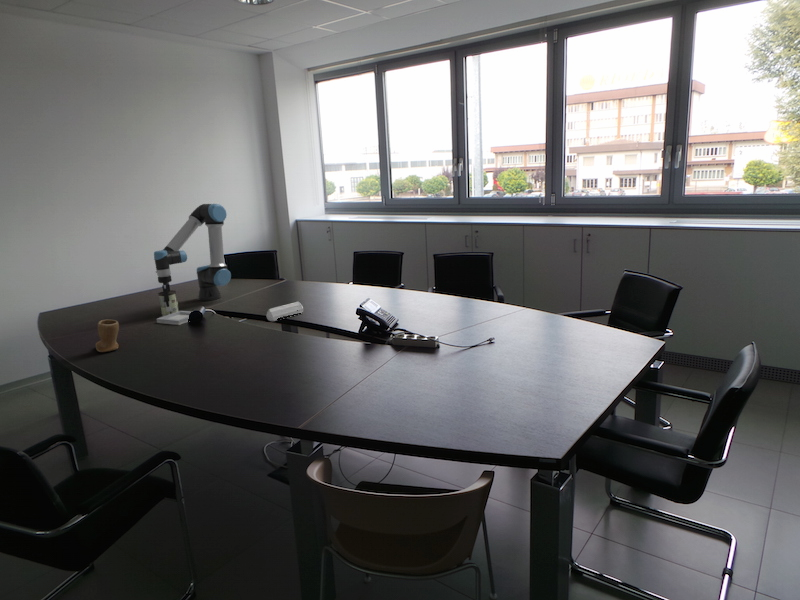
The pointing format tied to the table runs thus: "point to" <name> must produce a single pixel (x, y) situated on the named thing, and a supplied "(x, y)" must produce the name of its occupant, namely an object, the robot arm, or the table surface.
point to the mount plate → (175, 318)
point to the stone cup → (107, 335)
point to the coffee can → (172, 302)
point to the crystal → (284, 311)
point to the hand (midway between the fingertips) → (169, 309)
